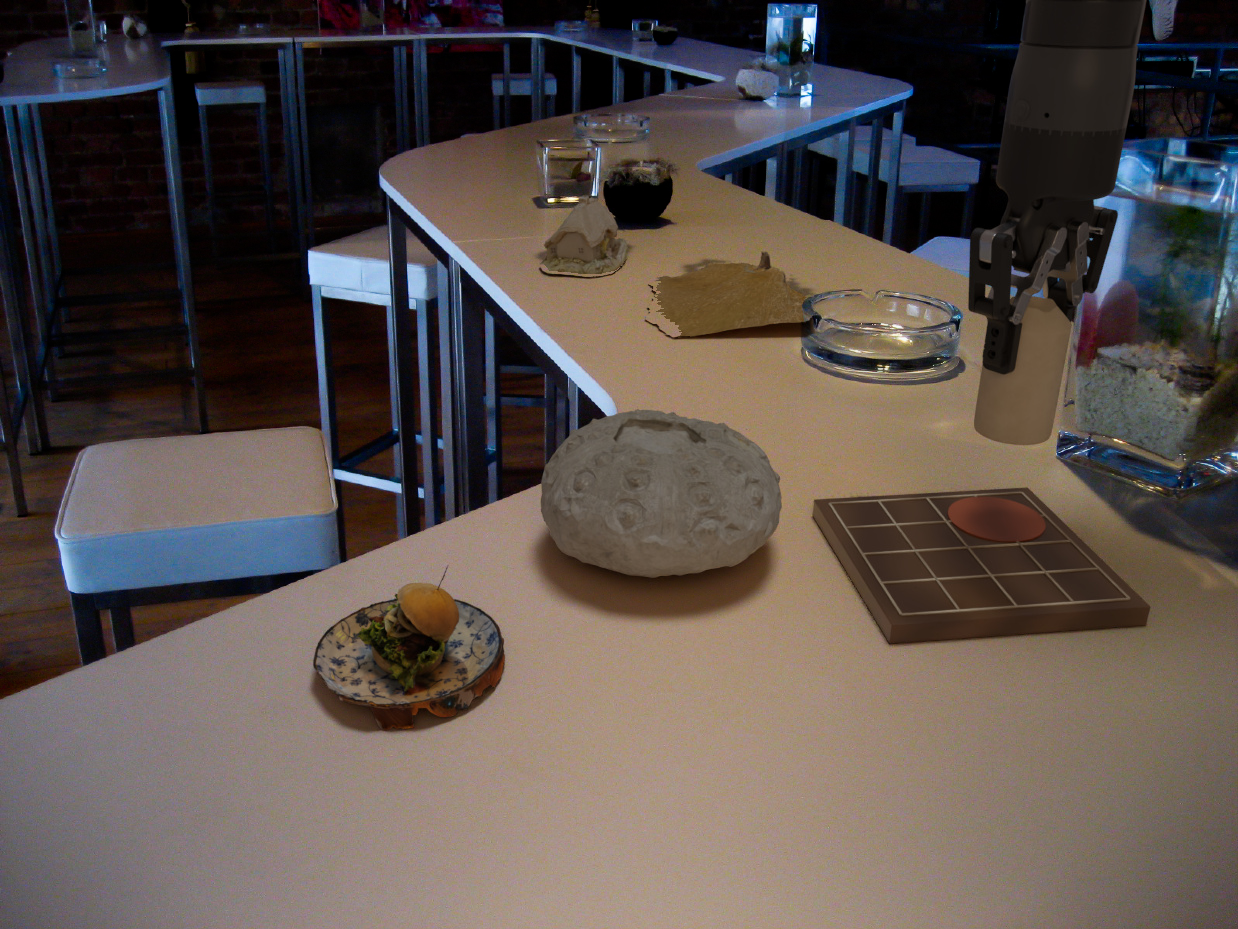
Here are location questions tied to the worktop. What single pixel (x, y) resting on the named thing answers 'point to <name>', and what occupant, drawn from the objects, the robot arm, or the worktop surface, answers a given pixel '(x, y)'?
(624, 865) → the worktop surface
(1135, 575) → the worktop surface
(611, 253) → the ceramic model
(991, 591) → the board
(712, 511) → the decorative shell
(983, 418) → the candle
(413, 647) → the burger
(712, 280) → the leather hide
